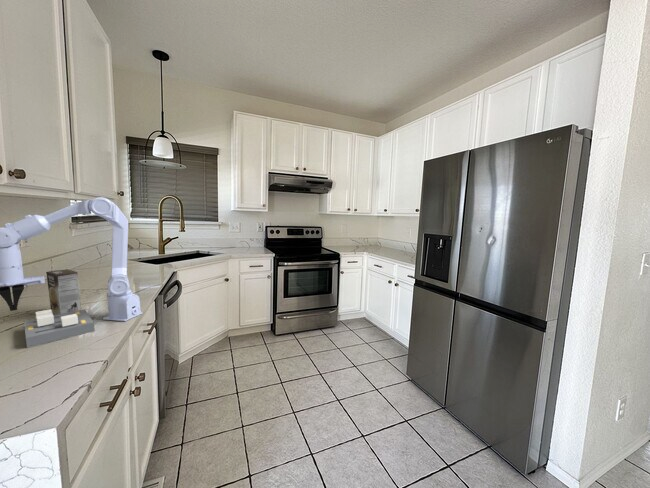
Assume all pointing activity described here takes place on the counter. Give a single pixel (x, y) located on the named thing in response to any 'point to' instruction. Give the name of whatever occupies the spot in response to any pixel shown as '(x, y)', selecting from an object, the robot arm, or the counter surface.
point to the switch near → (69, 320)
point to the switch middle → (45, 319)
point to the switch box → (57, 329)
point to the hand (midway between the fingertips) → (13, 309)
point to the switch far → (43, 313)
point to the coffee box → (63, 291)
